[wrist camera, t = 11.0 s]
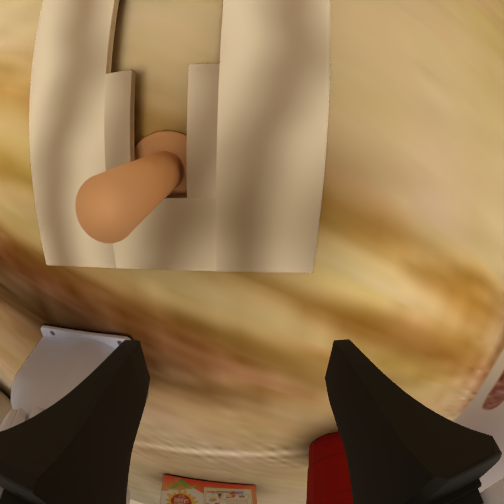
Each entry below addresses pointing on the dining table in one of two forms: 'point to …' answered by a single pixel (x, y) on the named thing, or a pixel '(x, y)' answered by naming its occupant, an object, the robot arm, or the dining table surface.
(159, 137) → the keyhole peg
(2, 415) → the grey bottle
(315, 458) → the plastic cup
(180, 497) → the cracker box
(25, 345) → the dining table surface
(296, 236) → the keyhole board
